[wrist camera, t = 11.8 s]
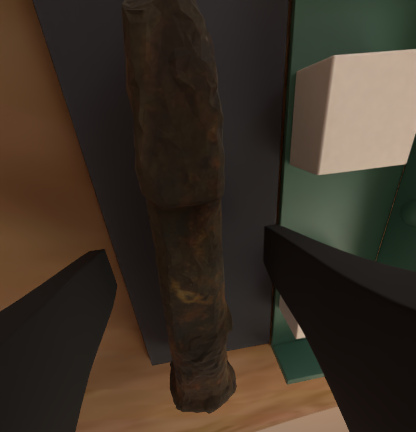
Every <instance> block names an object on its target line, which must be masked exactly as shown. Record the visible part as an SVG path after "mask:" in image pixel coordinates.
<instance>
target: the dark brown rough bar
mask: <svg viewBox="0 0 416 432" xmlns="http://www.w3.org/2000/svg"><path fill="white" fill-rule="evenodd" d="M122 22H123V37H124V50H125V60H126V92H127V95H128V98H129V101H130V105H131V108H132V112H133V118H134V146H135V170H136V174H137V177H138V180H139V186H140V189H141V192H142V195H144V196H145V197H146V203H147V211H148V216H149V221H150V226H151V231H152V237H153V242H154V245H155V253H156V265H157V269H158V276H159V287H160V293H161V298H162V303H163V309H164V316H165V322H166V327H167V333H168V340H169V346H170V352H171V357H172V360H171V363H170V366H171V372H170V391H171V394H172V397H173V401H174V404H175V405H176V408H177V409H178V410H181V411H182V412H195V413H199V412H207V413H212V412H214V411H215V410H216V409H218V408H219V407H221V406H222V405H223V404H224V403H225V402H226V401H228V399H229V398H230V396H232V395H233V393H234V392H235V390H236V387H237V386H236V377H235V372H234V370H233V368H232V366H231V365H230V363H229V362H228V360H227V353H226V351H227V350H226V344H227V341H228V337H227V335H228V334H229V333H230V332H231V331H232V330H233V329H232V326H233V320H232V314H231V312H230V309H229V307H228V305H227V303H226V301H225V279H224V266H223V249H222V214H221V197H222V196H223V195H224V186H225V174H224V165H225V154H224V147H223V121H224V117H223V112H222V107H221V102H220V97H219V92H218V75H217V69H216V62H215V55H214V47H213V43H212V39H211V36H210V33H209V31H208V30H207V29H206V26H205V19H204V18H203V16H202V14H201V12H200V11H199V9H198V7H197V3H196V0H125V1H124V2H123V3H122Z"/></svg>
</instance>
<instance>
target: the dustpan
mask: <svg viewBox="0 0 416 432" xmlns="http://www.w3.org/2000/svg"><path fill="white" fill-rule="evenodd" d="M409 49H416V0H292V10H291V26H290V43H289V59H288V75H287V91H286V107H285V123H284V140H283V156H282V172H281V188H280V204H279V221H278V225H281V226H283V227H286V228H288V229H291V230H293V231H295V232H298V233H300V234H302V235H305V236H307V237H309V238H312V239H314V240H316V241H319V242H321V243H324V244H326V245H329V246H331V247H334V248H337V249H339V250H342V251H345V252H347V253H350V254H353V255H356V256H360V257H363V258H366V259H369V260H373V261H375V260H376V257H377V260H376V262H379V263H383V264H387V265H390V266H394V267H398V268H402V269H407V270H411V271H415V272H416V134H415V137H414V140H413V143H412V147H411V150H410V153H409V156H408V160H407V163H406V165H405V164H404V165H405V169H404V165H396V166H388V167H380V168H372V169H364V170H357V171H349V172H341V173H333V174H325V175H316V174H313V173H310V172H308V171H305V170H302V169H300V168H297V167H294V166H292V165H290V151H291V138H292V125H293V111H294V98H295V84H296V73H297V71H299V70H301V69H303V68H305V67H308V66H310V65H312V64H315V63H317V62H319V61H322V60H324V59H326V58H329V57H331V56H333V55H342V54H356V53H369V52H382V51H396V50H409ZM403 169H404V172H403ZM402 172H403V175H402ZM401 175H402V178H401ZM400 178H401V182H400ZM399 182H400V185H399ZM398 185H399V188H398ZM397 188H398V191H397ZM396 192H397V195H396ZM395 195H396V198H395ZM394 198H395V201H394ZM393 201H394V204H393ZM392 205H393V208H392ZM391 208H392V211H391ZM390 211H391V214H390ZM389 214H390V217H389ZM388 218H389V221H388ZM387 221H388V224H387ZM386 224H387V227H386ZM385 227H386V230H385ZM384 231H385V234H384ZM383 234H384V237H383ZM382 237H383V240H382ZM381 241H382V243H381ZM380 244H381V247H380ZM379 247H380V250H379ZM378 250H379V253H378ZM377 254H378V256H377ZM279 300H280V294H279V292H278V291H277V289H276V287H275V286H274V301H273V318H272V334H271V348H272V350H273V352H274V355H275V357H276V359H277V362H278V364H279V367H280V369H281V371H282V374H283V376H284V379H285V381H286V383H287V384H292V383H297V382H302V381H306V380H311V379H316V378H320V377H325V376H324V374H323V372H322V370H321V368H320V366H319V363H318V361H317V359H316V357H315V355H314V353H313V351H312V349H311V347H310V345H309V343H308V341H307V339H306V337H305V338H300V339H296V338H295V336H294V334H293V333H292V331H291V329H290V327H289V325H288V324H287V322H286V320H285V318H284V316H283V314H282V313H281V311H280V309H279Z"/></svg>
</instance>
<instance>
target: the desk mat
mask: <svg viewBox="0 0 416 432" xmlns="http://www.w3.org/2000/svg"><path fill="white" fill-rule="evenodd" d="M124 1H125V0H33V3H34V7H35V10H36V13H37V16H38V19H39V22H40V25H41V28H42V31H43V34H44V37H45V40H46V43H47V46H48V49H49V52H50V55H51V58H52V61H53V65H54V68H55V71H56V74H57V77H58V80H59V83H60V86H61V89H62V92H63V95H64V98H65V101H66V104H67V107H68V110H69V113H70V116H71V119H72V122H73V126H74V129H75V132H76V135H77V138H78V141H79V144H80V147H81V150H82V153H83V156H84V159H85V162H86V165H87V168H88V171H89V174H90V177H91V180H92V183H93V187H94V190H95V193H96V196H97V199H98V202H99V205H100V208H101V211H102V214H103V217H104V220H105V223H106V226H107V229H108V232H109V235H110V238H111V241H112V245H113V248H114V251H115V254H116V257H117V260H118V263H119V266H120V269H121V272H122V275H123V278H124V281H125V284H126V287H127V290H128V293H129V296H130V299H131V302H132V306H133V309H134V312H135V315H136V318H137V321H138V324H139V327H140V330H141V333H142V336H143V339H144V342H145V345H146V348H147V351H148V354H149V357H150V360H151V363H152V365H158V364H163V363H168V362H171V360H172V357H171V352H170V346H169V340H168V333H167V327H166V322H165V316H164V309H163V303H162V298H161V293H160V287H159V276H158V269H157V265H156V253H155V245H154V242H153V237H152V231H151V226H150V221H149V216H148V211H147V203H146V197H145V196H144V195H142V192H141V189H140V186H139V180H138V177H137V174H136V170H135V146H134V118H133V112H132V108H131V105H130V101H129V98H128V95H127V92H126V60H125V50H124V37H123V22H122V3H123V2H124ZM288 1H289V0H196V3H197V7H198V9H199V11H200V12H201V14H202V16H203V18H204V19H205V26H206V29H207V30H208V31H209V33H210V36H211V39H212V43H213V47H214V55H215V62H216V69H217V75H218V92H219V97H220V102H221V107H222V112H223V117H224V121H223V147H224V154H225V165H224V174H225V186H224V195H223V196H222V197H221V214H222V249H223V266H224V279H225V301H226V303H227V305H228V307H229V309H230V312H231V314H232V320H233V326H232V329H233V330H232V331H231V332H230V333H229V334H228V335H227V337H228V341H227V344H226V350H227V351H230V350H235V349H240V348H246V347H251V346H256V345H261V344H266V343H269V337H270V320H271V302H272V284H273V282H272V281H271V279H270V276H269V274H268V272H267V270H266V268H265V265H264V263H263V252H264V226H269V225H276V213H277V196H278V178H279V160H280V143H281V125H282V107H283V89H284V72H285V54H286V36H287V18H288Z"/></svg>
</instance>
